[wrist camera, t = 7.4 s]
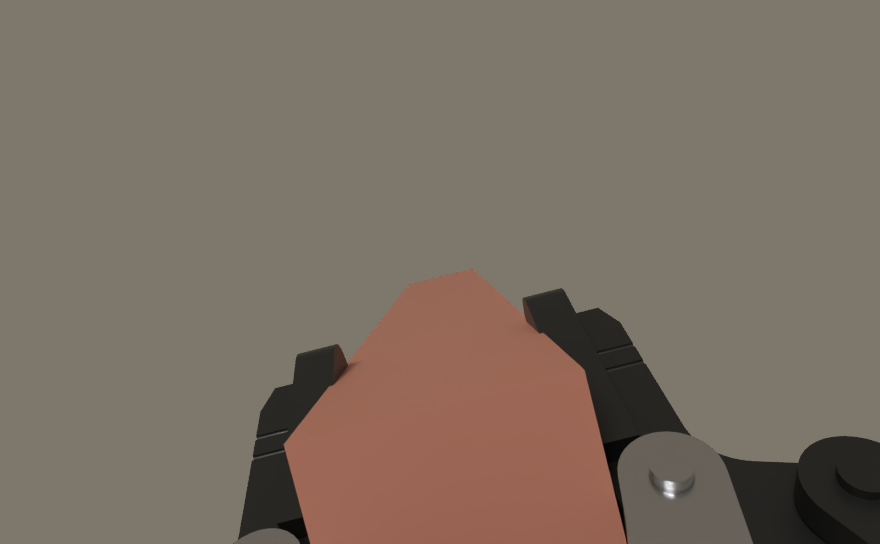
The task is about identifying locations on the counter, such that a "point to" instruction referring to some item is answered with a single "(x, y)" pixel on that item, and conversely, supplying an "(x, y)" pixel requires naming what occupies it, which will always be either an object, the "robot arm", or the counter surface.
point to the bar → (455, 432)
